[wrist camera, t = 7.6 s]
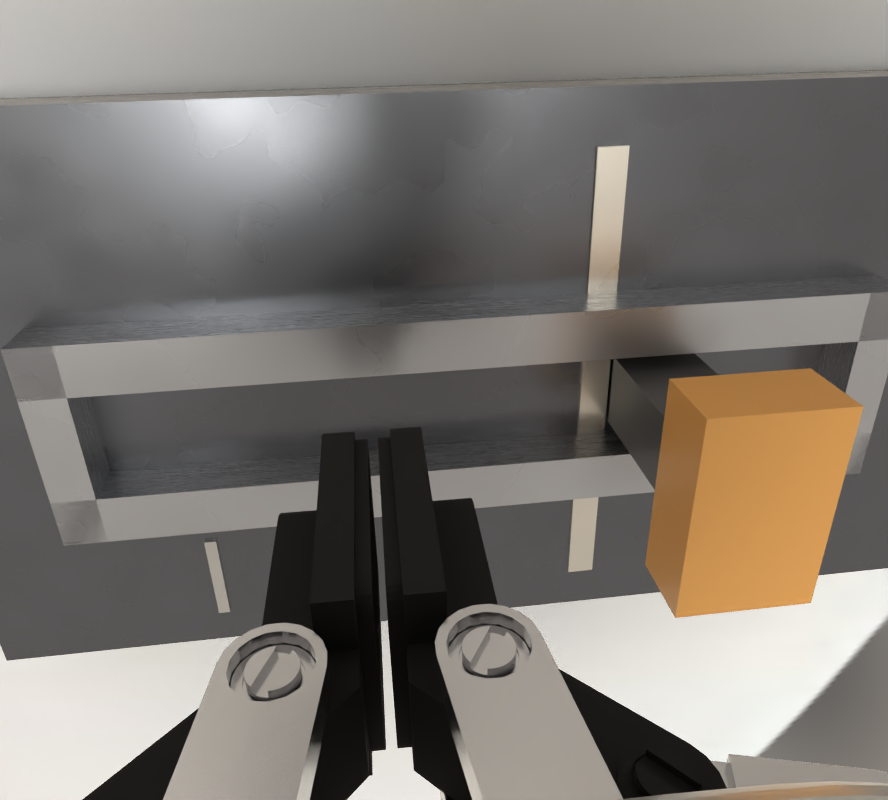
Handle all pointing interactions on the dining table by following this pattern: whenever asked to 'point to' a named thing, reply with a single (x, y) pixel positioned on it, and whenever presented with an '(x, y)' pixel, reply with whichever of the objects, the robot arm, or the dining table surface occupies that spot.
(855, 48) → the dining table surface
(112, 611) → the console
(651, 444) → the fader tab
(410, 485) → the robot arm
